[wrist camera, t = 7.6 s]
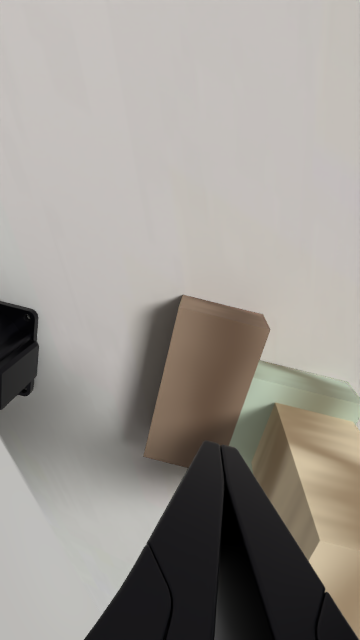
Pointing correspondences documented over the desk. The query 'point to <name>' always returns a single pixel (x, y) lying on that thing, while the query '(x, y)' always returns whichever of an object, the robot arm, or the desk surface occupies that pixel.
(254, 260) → the desk surface
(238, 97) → the desk surface
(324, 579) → the beech block
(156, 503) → the desk surface
